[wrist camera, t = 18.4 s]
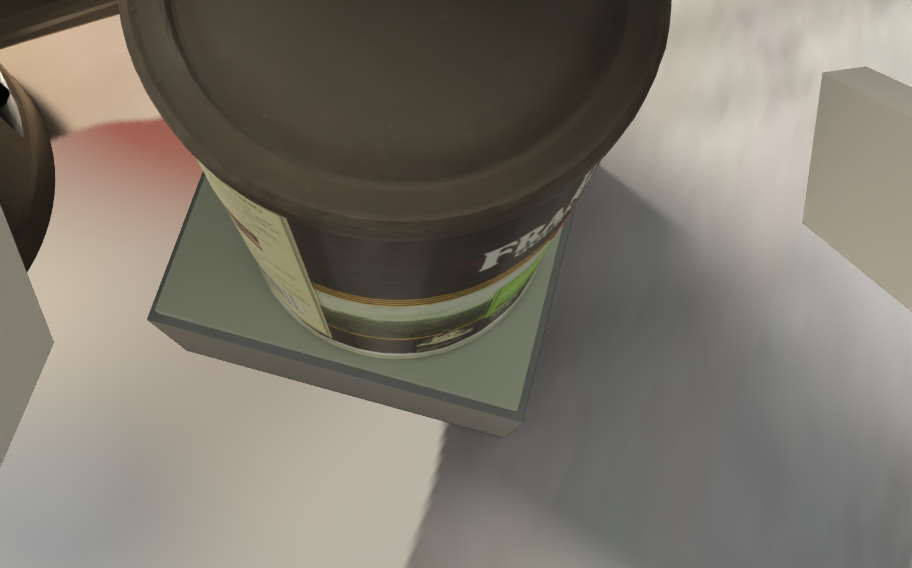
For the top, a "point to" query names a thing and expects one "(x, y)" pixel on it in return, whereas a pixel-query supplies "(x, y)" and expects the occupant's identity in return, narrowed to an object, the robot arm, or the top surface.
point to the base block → (324, 365)
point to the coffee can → (397, 143)
